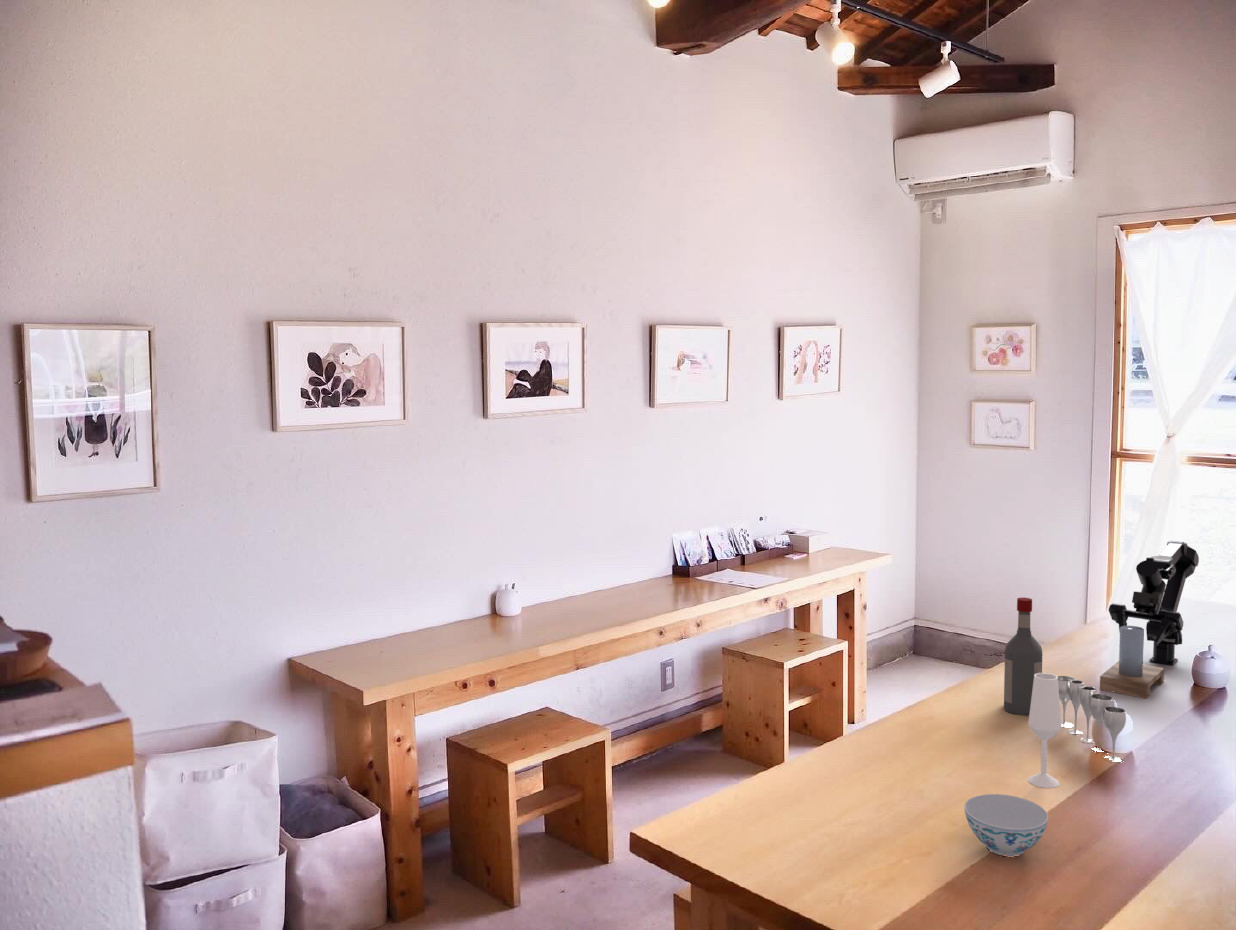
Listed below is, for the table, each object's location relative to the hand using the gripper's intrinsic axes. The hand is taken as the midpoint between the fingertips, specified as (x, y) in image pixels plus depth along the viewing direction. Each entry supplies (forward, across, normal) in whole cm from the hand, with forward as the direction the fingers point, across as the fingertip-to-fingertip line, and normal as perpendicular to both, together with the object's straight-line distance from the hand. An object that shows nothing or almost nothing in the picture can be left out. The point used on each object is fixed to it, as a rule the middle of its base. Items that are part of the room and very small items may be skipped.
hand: (1138, 641), depth 291 cm
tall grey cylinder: (+10, 0, +1) cm, 10 cm away
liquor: (+39, -16, -22) cm, 47 cm away
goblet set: (+47, +5, -30) cm, 56 cm away
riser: (+12, 0, +5) cm, 13 cm away
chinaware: (+93, +12, -78) cm, 122 cm away
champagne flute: (+68, +6, -52) cm, 86 cm away
